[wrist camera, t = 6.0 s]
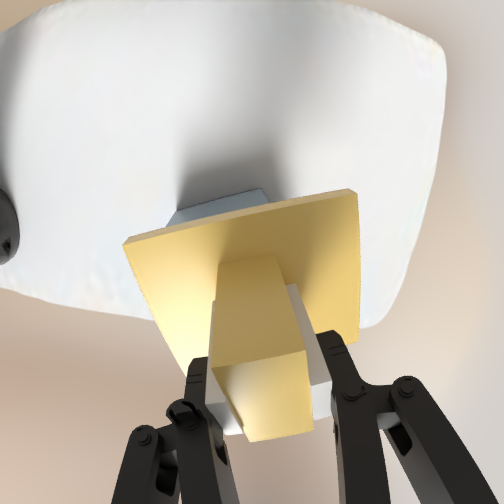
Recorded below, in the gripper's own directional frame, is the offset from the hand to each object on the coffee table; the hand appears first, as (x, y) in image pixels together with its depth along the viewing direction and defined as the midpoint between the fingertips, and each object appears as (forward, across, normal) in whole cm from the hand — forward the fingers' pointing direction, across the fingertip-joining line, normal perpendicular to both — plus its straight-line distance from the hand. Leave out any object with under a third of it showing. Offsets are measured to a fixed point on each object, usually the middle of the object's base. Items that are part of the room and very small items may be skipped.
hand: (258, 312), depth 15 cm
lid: (+2, 0, 0) cm, 2 cm away
